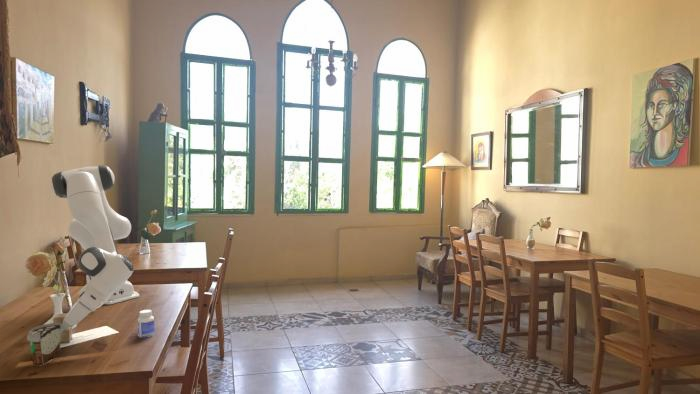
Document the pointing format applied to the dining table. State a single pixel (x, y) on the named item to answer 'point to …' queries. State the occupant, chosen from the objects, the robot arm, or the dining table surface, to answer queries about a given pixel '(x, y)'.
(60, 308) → the flower in vase
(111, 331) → the board
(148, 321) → the pill bottle
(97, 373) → the dining table surface
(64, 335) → the sanding block
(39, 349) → the food container
